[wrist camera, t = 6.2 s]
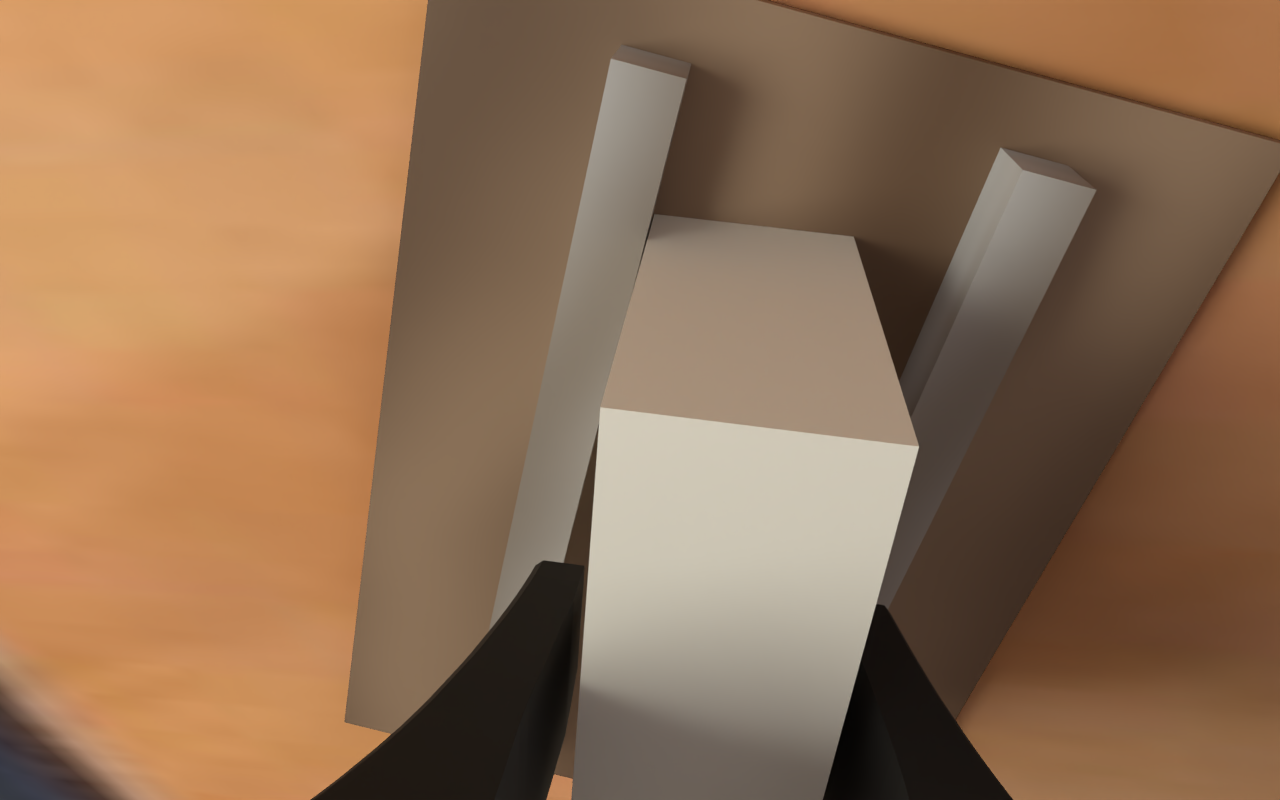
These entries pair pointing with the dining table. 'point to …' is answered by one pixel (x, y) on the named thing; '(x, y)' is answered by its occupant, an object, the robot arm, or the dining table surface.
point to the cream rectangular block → (737, 516)
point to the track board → (780, 198)
